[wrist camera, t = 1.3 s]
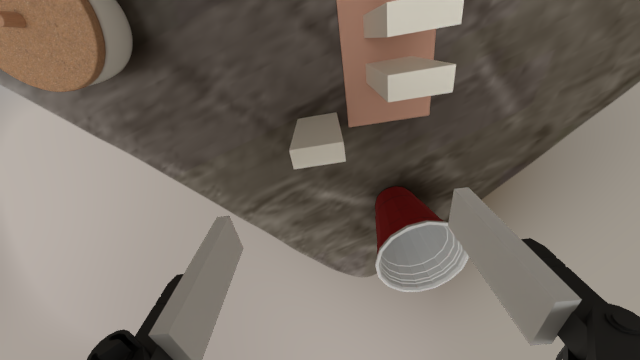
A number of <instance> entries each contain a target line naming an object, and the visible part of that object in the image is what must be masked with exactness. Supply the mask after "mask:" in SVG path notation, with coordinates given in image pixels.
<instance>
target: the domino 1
mask: <svg viewBox="0 0 640 360" xmlns="http://www.w3.org/2000/svg"><path fill="white" fill-rule="evenodd" d="M289 152H290V156H291V160H292V164H293V168H294V169H300V168H306V167H313V166H320V165H326V164H333V163H339V162H346V158H345V150H344V142H343V138H342V133H341V129H340V125H339V121H338V116H337V112H335V113H329V114H323V115H317V116H311V117H305V118H299V119H298V120H297V123H296V127H295V131H294V134H293V138H292V141H291V145H290V149H289Z"/></svg>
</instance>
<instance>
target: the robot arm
mask: <svg viewBox="0 0 640 360" xmlns="http://www.w3.org/2000/svg"><path fill="white" fill-rule="evenodd" d="M448 227H449V228H450V230H451V231H452V233H453V234H454V236H455V237H456V238H457V240H458V241H459V243H460V244H461V246H462V247H463V249H464V250H465V252H466V253H467V254H468V256H469V257H470V259H471V260H472V262H473V263H474V265H475V266H476V267H477V269H478V270H479V272H480V273H481V275H482V276H483V278H484V279H485V281H486V282H487V283H488V285H489V286H490V288H491V289H492V291H493V292H494V294H495V295H496V296H497V298H498V299H499V301H500V302H501V304H502V305H503V307H504V308H505V309H506V311H507V312H508V314H509V315H510V317H511V318H512V320H513V321H514V323H515V324H516V325H517V327H518V328H519V330H520V331H521V333H522V334H523V336H524V337H525V339H526V340H527V341H528V343H529V344H530V345H539V344H552V342H553V341H554V340H555V338H556V337H557V335H558V336H559V337H560V339H561V340H562V341H563V342H564V344H565V346H564V347H563V348H562V350H561V351H560V352H559V354H558V355H557V358H556V360H562V359H563V360H640V317H639V316H637V315H636V314H634V313H633V312H631V311H629V310H627V309H624V308H622V307H620V306H616V305H612V304H608V303H607V302H605V301H604V300H603V299H602V298H601V297H600V296H599V295H598V294H596V293H595V292H594V291H593V290H592V289H591V288H590V287H589V286H588V285H587V284H586V283H584V282H583V281H582V280H581V279H580V278H579V277H578V276H577V275H576V274H575V273H574V272H572V271H571V270H570V269H569V268H568V267H566V266H565V264H564V263H563V262H561V261H560V260H559V259H557V258H556V256H555V255H554V254H553V253H552V252H550V251H549V250H548V249H547V248H546V247H545V246H543V245H542V244H540V243H538V242H536V241H534V240H533V239H530V238H529V239H520V238H519V237H518V236H517V235H516V234H515V233H514V232H513V231H512V230H511V229H510V228H509V227H508V226H507V225H506V224H505V223H504V222H503V221H502V220H501V219H500V218H499V217H498V216H497V215H496V214H495V213H494V212H493V211H492V210H491V209H489V207H488V206H487V205H486V204H485V203H484V202H482V200H481V199H480V198H479V197H478V196H477V195H476V194H475V193H474V192H473V191H472V190H471V189H470V188H468V187H467V188H458V189H454V193H453V199H452V205H451V211H450V217H449V223H448ZM242 250H243V246H242V244H241V242H240V239H239V237H238V235H237V232H236V231H235V228H234V226H233V223H232V221H231V219H230V216H224V217H217V218H216V220H215V222H214V223H213V225H212V227H211V229H210V230H209V232H208V234H207V236H206V237H205V239H204V241H203V242H202V244H201V246H200V247H199V249H198V251H197V253H196V254H195V256H194V258H193V259H192V261H191V263H190V264H189V266H188V268H187V270H186V272H185V273H184V274H181V275H177V276H176V277H174V279H172V281H171V282H169V283H168V284H167V286H166V288H165V289H164V291H163V293H162V294H161V297H159V299H158V301H157V302H156V305H155V306H154V307H153V309H152V310H151V312H150V313H149V315H148V316H147V318H146V320H145V321H144V323H143V325H142V326H141V328H140V329H139V331H138V332H137V334H136V336H135V337H134V336H133V335H132V334H131V333H130V332H129V331H127V330H120V331H116V332H114V333H112V334H110V335H108V336H107V337H106V338H104V339H103V340H102V341H100V342H99V344H98V345H97V346H96V347H95V348H94V349H93V350H92V352H91V353H90V355H89V356H88V358H87V360H202V359H203V356H204V353H205V350H206V348H207V345H208V342H209V340H210V337H211V334H212V332H213V329H214V326H215V324H216V321H217V318H218V315H219V313H220V310H221V307H222V305H223V302H224V299H225V296H226V294H227V291H228V288H229V286H230V283H231V280H232V278H233V275H234V272H235V269H236V266H237V264H238V261H239V259H240V256H241V253H242Z"/></svg>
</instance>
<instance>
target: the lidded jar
mask: <svg viewBox="0 0 640 360" xmlns="http://www.w3.org/2000/svg"><path fill="white" fill-rule="evenodd" d="M132 47H133V38H132V32H131V28H130V25H129V22H128V20H127V18H126V15H125V14H124V12H123V10H122V8H121V7H120V5H119V4H118V2H117V1H116V0H0V69H2V70H3V71H5V72H6V73H8V74H9V75H11V76H13V77H15V78H16V79H18V80H20V81H22V82H25V83H27V84H29V85H31V86H34V87H37V88H40V89H44V90H48V91H55V92H66V91H74V90H78V89H81V88H84V87H87V86H90V85H94V84H97V83H101V82H103V81H106V80H108V79H110V78H112V77H113V76H115V75H117V74H118V73H119V72H121V71H122V70H123V69H124V67H125V66H126V65H127V63H128V61H129V59H130V57H131V53H132Z"/></svg>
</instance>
